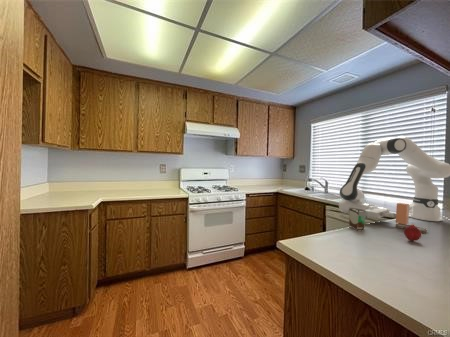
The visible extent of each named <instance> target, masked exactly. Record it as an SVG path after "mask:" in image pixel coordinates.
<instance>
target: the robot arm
mask: <svg viewBox="0 0 450 337" xmlns="http://www.w3.org/2000/svg"><path fill="white" fill-rule="evenodd" d="M393 154H394V155H395V154H397V155H399V158H401V159H402V161H403V162H405V163H406V164H408V165H406V168H405V171H406V173H407V175H409V176H410V177H411V179H412V181H413V183H414V197H413V199H412V202H411V203H409V218H411V219H412V218H413V219H418V220H422V221H429V222H440V221H441V222H442V221H444V219H443V218H441V214H442V213H441V207H440V206H439V202H440V201H439V196H438V195H439V188H438V186H437V185H435V184H434V183H433V181H432V179H445V178H449V177H450V163H448V162H444V161H441V160H439V159H436V158H435V157H433V156H432V155H429V154H428V153H426V152H425V151H424V150H422V148H421V147H420V146H418V144H417V143H416V142H414V141H413V140H412V139H410V138H409V137H407V136H404V135H400V136H396V137H385V138H382V139H376V140H374V141H373V142H370V143H367V144H366V145H365V146H364V147H363V149H362V151H361V153H360V155H359V158H358V160H357V162H356V164H355V166H354V167H353V168H352V170H351V172H350V174H349V177H348V178H347V180H346V182H345V183H344V184H343V186H341V188H340V190H339V195H340V197H341V198H342V199H341V200H339V203H338V209H339V210H340V211H341V212H342V213H345V214H347V215H349V207H350V208H358V209H362V210H365V211H366V212H367V216H366V218H365V219H369V218H373V219H380V218H383V217H388V218H395V213H392V212H390V209H389V208H386V207H381V206H377V205H375V204H370V203H365V202H364V199H365V193H364V192H363V191H362V190H361V189H359V188H358V185H359V183H360V181H361V178H362V177H363V175H364V174H366V173H372V172H373V171H375V169H376V168H377V167H378V165H379V164H378V163H379V162H380V159H381V156H385V155H387V156H389V155H393Z"/></svg>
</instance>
